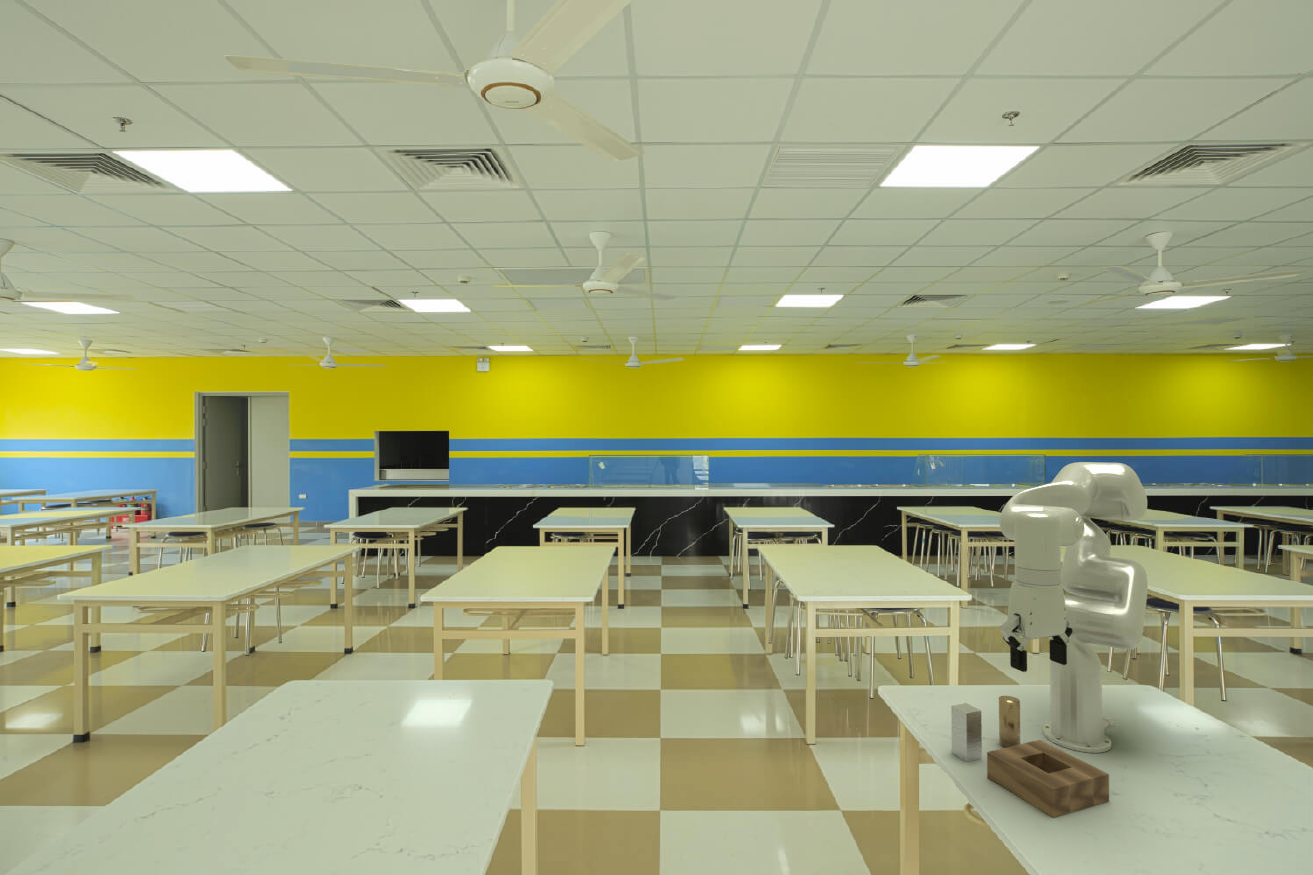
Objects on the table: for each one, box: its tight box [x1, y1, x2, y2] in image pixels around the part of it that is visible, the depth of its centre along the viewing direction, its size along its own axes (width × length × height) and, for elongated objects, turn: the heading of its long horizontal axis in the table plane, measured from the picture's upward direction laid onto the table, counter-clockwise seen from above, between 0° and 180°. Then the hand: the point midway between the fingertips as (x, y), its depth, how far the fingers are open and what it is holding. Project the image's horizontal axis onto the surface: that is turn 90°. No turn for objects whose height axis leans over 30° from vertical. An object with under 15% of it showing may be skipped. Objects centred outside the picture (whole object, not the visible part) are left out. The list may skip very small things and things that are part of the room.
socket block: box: [986, 739, 1110, 818], centre depth 121 cm, size 14×14×5 cm
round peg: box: [998, 695, 1021, 749], centre depth 137 cm, size 4×4×10 cm
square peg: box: [950, 702, 983, 763], centre depth 133 cm, size 4×4×10 cm
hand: (1038, 665), depth 121 cm, fingers open, 9 cm apart
